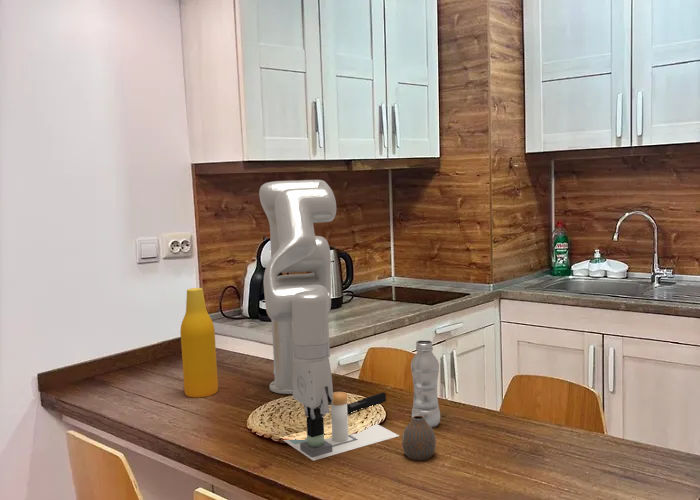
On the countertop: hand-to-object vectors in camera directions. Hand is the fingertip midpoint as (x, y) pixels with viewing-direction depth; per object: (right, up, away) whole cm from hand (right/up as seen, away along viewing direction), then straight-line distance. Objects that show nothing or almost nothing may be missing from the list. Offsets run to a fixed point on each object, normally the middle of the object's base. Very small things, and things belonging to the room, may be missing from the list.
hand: (315, 434), depth 149 cm
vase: (+22, -4, -4) cm, 22 cm away
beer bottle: (-34, 0, +45) cm, 56 cm away
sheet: (+5, -3, +8) cm, 10 cm away
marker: (+5, -3, +7) cm, 9 cm away
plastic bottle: (+25, -2, +14) cm, 28 cm away
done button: (0, -2, 0) cm, 2 cm away
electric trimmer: (+10, -1, +27) cm, 29 cm away
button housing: (0, -4, 0) cm, 4 cm away
